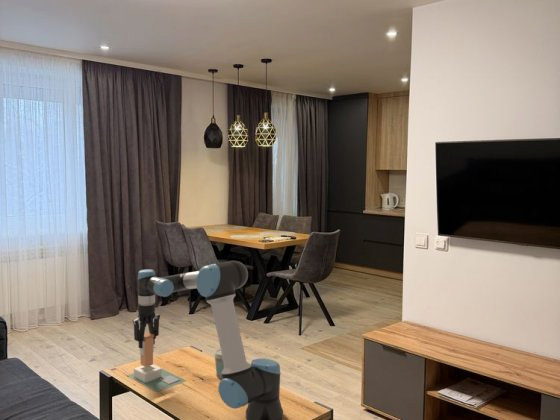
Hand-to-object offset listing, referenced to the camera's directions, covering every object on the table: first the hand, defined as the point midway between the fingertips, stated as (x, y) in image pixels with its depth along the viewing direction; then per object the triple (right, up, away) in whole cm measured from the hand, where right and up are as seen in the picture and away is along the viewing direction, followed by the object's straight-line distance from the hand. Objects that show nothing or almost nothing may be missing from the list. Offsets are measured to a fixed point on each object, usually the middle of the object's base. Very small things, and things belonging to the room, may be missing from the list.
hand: (146, 353), depth 225 cm
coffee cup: (+34, -14, +8) cm, 38 cm away
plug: (0, -5, 0) cm, 5 cm away
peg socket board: (+4, -13, +1) cm, 14 cm away
